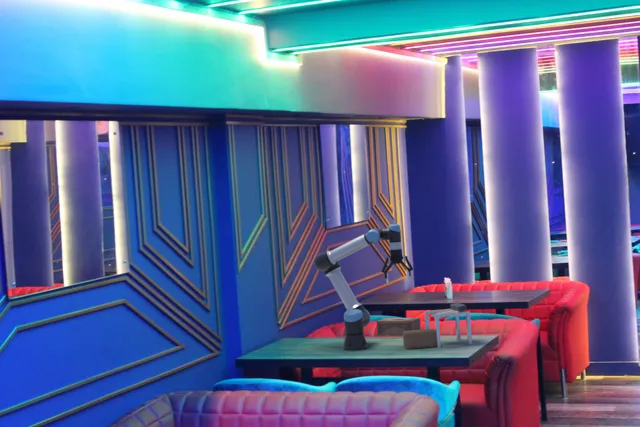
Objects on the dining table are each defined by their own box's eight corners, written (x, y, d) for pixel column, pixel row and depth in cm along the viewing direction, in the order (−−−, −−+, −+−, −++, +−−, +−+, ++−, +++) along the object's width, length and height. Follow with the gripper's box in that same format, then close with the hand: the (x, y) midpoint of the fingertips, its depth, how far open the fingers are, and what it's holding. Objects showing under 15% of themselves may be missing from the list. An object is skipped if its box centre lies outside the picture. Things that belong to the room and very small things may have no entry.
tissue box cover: (420, 332, 646) (419, 317, 646) (413, 336, 633) (412, 321, 633) (385, 332, 657) (384, 318, 657) (377, 335, 645) (376, 321, 644)
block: (438, 346, 580) (406, 349, 579) (435, 344, 590) (403, 347, 589) (437, 330, 580) (405, 333, 579) (434, 328, 590) (402, 330, 589)
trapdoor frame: (426, 342, 598) (424, 311, 598) (459, 339, 603) (457, 307, 602) (437, 347, 577) (435, 314, 577) (472, 344, 581) (469, 311, 581)
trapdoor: (430, 316, 596) (428, 310, 596) (458, 308, 600) (456, 302, 600) (438, 319, 580) (437, 312, 579) (467, 311, 583) (466, 305, 583)
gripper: (378, 250, 594) (380, 284, 595) (416, 247, 599) (418, 281, 600) (375, 250, 602) (377, 283, 602) (413, 247, 607) (415, 280, 607)
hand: (398, 282), depth 601 cm, fingers open, 13 cm apart
